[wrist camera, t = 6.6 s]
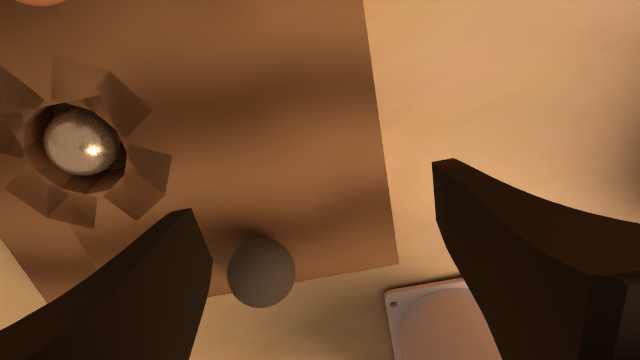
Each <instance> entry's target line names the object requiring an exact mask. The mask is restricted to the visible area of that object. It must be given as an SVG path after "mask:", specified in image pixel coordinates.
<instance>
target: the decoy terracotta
mask: <svg viewBox="0 0 640 360" xmlns="http://www.w3.org/2000/svg"><path fill="white" fill-rule="evenodd" d="M15 1H17V2H20V3H23V4H26V5H31V6H53V5H56V4H59V3H62V2H64V1H66V0H15Z"/></svg>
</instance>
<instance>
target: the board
mask: <svg viewBox="0 0 640 360" xmlns="http://www.w3.org/2000/svg"><path fill="white" fill-rule="evenodd" d="M59 103H68V104H71V105H75V106H78V107H82V108H85V109H89V110H92V111H94V112H95V113H96V114H98V115H99V116H100V117H101V118H102V119H104V120H105V121H106V122H107V123H108V124H110V125H111V126H112V127H113V128H115V129H116V131H117V133H118V135H119V137H120V139H121V141H122V143H123V146H124V148H125V150H126V152H127V159H126V167H125V168H122V169H117V170H112V171H105V170H104V171H102V172H99V173H96V174H93V175H75V174H71V173H68V172H66V171H64V170H62V169H60V168H58V167H57V166H56V165H55V164H54V163H53V162H52V161H51V160H50V159H49V157H48V155H47V153H46V151H45V148H44V133H45V130H46V128H47V126H48V124H49V123H50V122H51V120H52V119H53V116H54V107H55V105H56V104H59ZM187 208H192V211H193V213H194V216H195V218H196V220H197V223H198V225H199V228H200V230H201V232H202V235H203V237H204V240H205V242H206V244H207V247H208V249H209V252H210V254H211V256H212V259H213V266H212V275H211V281H210V288H209V292H208V296H207V297H211V296H217V295H223V294H229V293H232V291H231V289H230V287H229V285H228V281H227V267H228V263H229V261H230V258H231V256H232V255H233V253H234V252H235V251H236V250H237V248H239V247H240V246H241V245H242V244H244V243H245V242H247V241H250V240H253V239H257V238H268V239H272V240H275V241H277V242H279V243H281V244H282V245H283V246H284V247H285V248H286V249H287V250H288V251H289V252H290V254H291V256H292V258H293V260H294V263H295V272H296V274H295V280H294V282H298V281H304V280H310V279H315V278H321V277H327V276H333V275H339V274H344V273H350V272H356V271H362V270H368V269H373V268H379V267H385V266H391V265H396V264H399V261H398V254H397V247H396V239H395V232H394V225H393V218H392V210H391V203H390V196H389V188H388V181H387V174H386V167H385V159H384V152H383V145H382V138H381V130H380V123H379V116H378V108H377V101H376V94H375V87H374V79H373V72H372V65H371V57H370V50H369V43H368V36H367V28H366V21H365V14H364V7H363V0H66V1H64V2H62V3H59V4H56V5H53V6H31V5H26V4H23V3H20V2H17V1H15V0H0V237H1V239H2V240H3V242H4V243H5V244H6V246H7V247H8V249H9V250H10V251H11V253H12V254H13V256H14V257H15V258H16V260H17V261H18V263H19V264H20V265H21V267H22V268H23V270H24V271H25V272H26V274H27V275H28V277H29V278H30V280H31V281H32V282H33V284H34V285H35V287H36V288H37V289H38V291H39V292H40V294H41V295H42V296H43V298H44V299H45V301H46V302H47V303H50V302H51V301H53V300H55V299H56V298H58V297H59V296H61V295H62V294H64V293H65V292H67V291H68V290H70V289H71V288H73V287H74V286H76V285H77V284H79V283H80V282H82V281H83V280H85V279H86V278H87V277H89V276H90V275H92V274H93V273H94V272H95V271H97V270H98V269H99V268H101V267H102V266H103V265H104V264H106V263H107V262H108V261H110V260H111V259H112V258H113V257H115V256H116V255H117V254H119V253H120V252H121V251H122V250H124V249H125V248H126V247H127V246H128V245H130V244H131V243H132V242H133V241H134V240H136V239H137V238H138V237H139V236H140V235H142V234H143V233H144V232H145V231H146V230H148V229H149V228H150V227H151V226H152V225H154V224H155V223H156V222H157V221H159V220H160V219H161V218H163V217H164V216H165V215H167V214H168V213H170V212H172V211H176V210H181V209H187Z"/></svg>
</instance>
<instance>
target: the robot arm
mask: <svg viewBox="0 0 640 360" xmlns="http://www.w3.org/2000/svg"><path fill="white" fill-rule="evenodd" d="M432 172H433V185H434V198H435V211H436V221H437V224H438V227H439V229H440V232H441V235H442V238H443V240H444V243H445V245H446V248H447V250H448V252H449V254H450V255H451V257H452V259H453V261H454V263H455V265H456V266H457V268H458V270H459V272H460V274H461V276H462V277H463V278H457V279H451V280H445V281H439V282H433V283H427V284H421V285H415V286H409V287H403V288H397V289H391V290H388V291H387V292H385V294H384V299H385V305H386V311H387V316H388V322H389V328H390V334H391V340H392V346H393V352H394V358H395V360H640V224H639V223H633V222H628V221H623V220H618V219H614V218H609V217H605V216H601V215H596V214H592V213H588V212H584V211H581V210H577V209H573V208H570V207H567V206H564V205H561V204H557V203H554V202H551V201H548V200H545V199H542V198H540V197H537V196H534V195H532V194H529V193H527V192H524V191H522V190H520V189H517V188H515V187H512V186H510V185H508V184H506V183H504V182H501V181H499V180H497V179H495V178H493V177H491V176H489V175H487V174H485V173H483V172H481V171H479V170H477V169H475V168H473V167H471V166H469V165H467V164H465V163H463V162H461V161H459V160H457V159H454V158H451V159H446V160H441V161H435V162H432ZM212 266H213V259H212V256H211V254H210V252H209V249H208V247H207V244H206V242H205V240H204V237H203V235H202V232H201V230H200V228H199V225H198V223H197V220H196V218H195V216H194V213H193V211H192V208H187V209H181V210H176V211H172V212H170V213H168V214H167V215H165V216H164V217H163V218H161V219H160V220H159V221H157V222H156V223H155V224H154V225H152V226H151V227H150V228H149V229H148V230H146V231H145V232H144V233H143V234H142V235H140V236H139V237H138V238H137V239H136V240H134V241H133V242H132V243H131V244H130V245H128V246H127V247H126V248H125V249H124V250H122V251H121V252H120V253H119V254H117V255H116V256H115V257H113V258H112V259H111V260H110V261H108V262H107V263H106V264H104V265H103V266H102V267H101V268H99V269H98V270H97V271H95V272H94V273H93V274H92V275H90V276H89V277H87V278H86V279H85V280H83V281H82V282H80V283H79V284H77V285H76V286H74V287H73V288H71V289H70V290H68V291H67V292H65V293H64V294H62V295H61V296H59V297H58V298H56V299H55V300H53V301H51V302H50V303H48V304H46V305H45V306H43V307H41V308H39V309H38V310H36V311H34V312H33V313H31V314H29V315H27V316H26V317H24V318H22V319H21V320H19V321H17V322H15V323H14V324H12V325H10V326H8V327H6V328H4V329H2V330H0V360H189V357H190V354H191V350H192V347H193V344H194V340H195V337H196V334H197V330H198V327H199V324H200V320H201V317H202V314H203V310H204V307H205V303H206V300H207V296H208V292H209V288H210V281H211V275H212ZM391 302H394V303H391Z"/></svg>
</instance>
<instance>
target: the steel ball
mask: <svg viewBox="0 0 640 360" xmlns="http://www.w3.org/2000/svg"><path fill="white" fill-rule="evenodd" d="M44 148H45V151H46V153H47V155H48V157H49V159H50V160H51V161H52V162H53V163H54V164H55V165H56V166H57V167H58V168H60V169H62V170H64V171H66V172H68V173H71V174H75V175H93V174H96V173H99V172H102V171H104V170H105V169H107V168H108V167H109V166H111V165H112V164H113V162H114V161H115V160H116V158H117V156H118V154H119V151H120V137H119V135H118V133H117V131H116V129H115V128H113V127H112V126H111V125H110V124H108V123H107V122H106V121H105V120H104V119H102V118H101V117H100V116H99V115H98V114H96V113H95V112H94V111H92V110H89V109H72V110H67V111H65V112H62V113H60V114H59V115H57V116H56V117H55V118H53V119H52V120H51V122H50V123H49V124H48V126H47V128H46V130H45V133H44Z"/></svg>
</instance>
